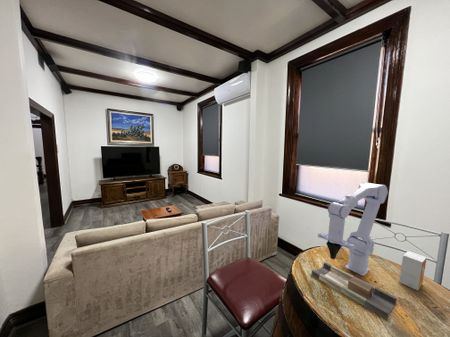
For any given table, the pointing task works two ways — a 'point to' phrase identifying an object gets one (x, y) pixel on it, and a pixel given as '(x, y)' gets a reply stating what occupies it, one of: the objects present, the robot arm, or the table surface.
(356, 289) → the walnut block
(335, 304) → the table surface
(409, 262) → the small box
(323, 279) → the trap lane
